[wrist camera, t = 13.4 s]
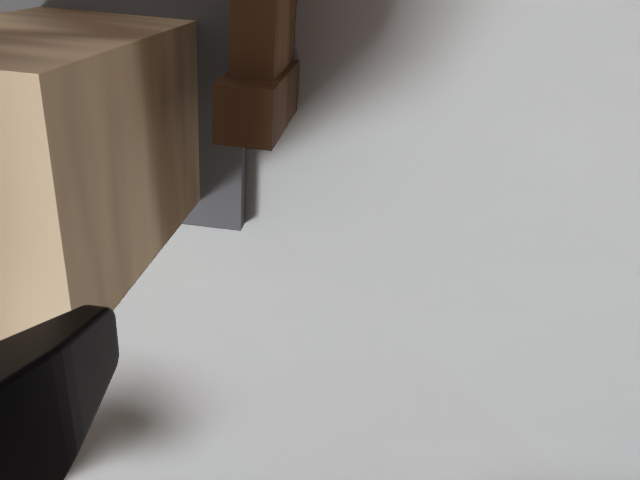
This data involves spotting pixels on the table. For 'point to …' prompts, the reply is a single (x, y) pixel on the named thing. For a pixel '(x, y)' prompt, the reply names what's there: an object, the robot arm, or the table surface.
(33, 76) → the block
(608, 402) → the table surface
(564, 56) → the table surface
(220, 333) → the table surface
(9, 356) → the robot arm
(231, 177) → the panel
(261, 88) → the wooden frame
